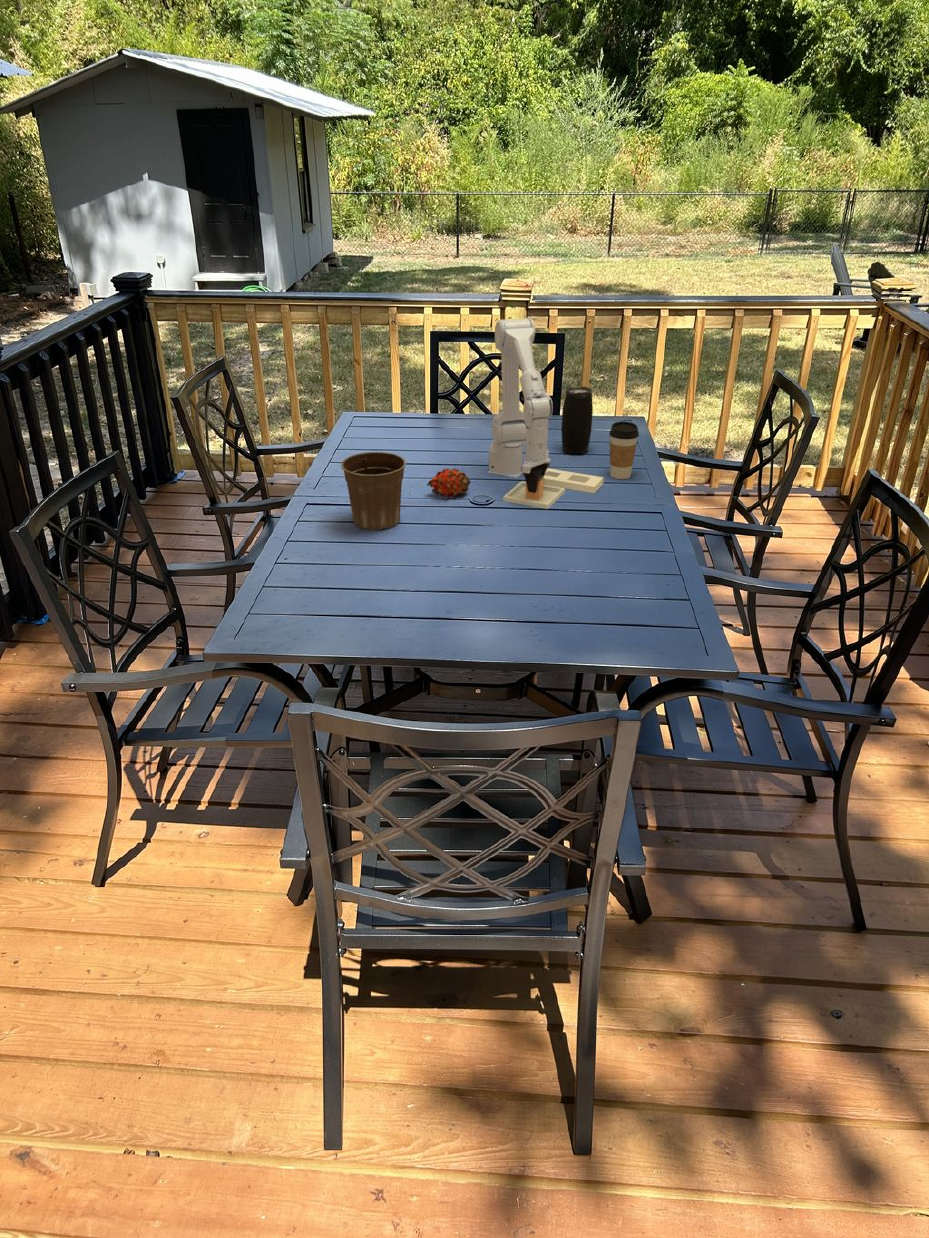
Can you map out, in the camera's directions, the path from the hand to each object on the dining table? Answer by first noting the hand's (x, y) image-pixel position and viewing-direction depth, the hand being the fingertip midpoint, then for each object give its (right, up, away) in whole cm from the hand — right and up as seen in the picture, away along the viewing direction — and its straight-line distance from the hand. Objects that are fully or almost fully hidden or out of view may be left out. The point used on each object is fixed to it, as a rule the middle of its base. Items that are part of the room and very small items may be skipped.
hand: (534, 489), depth 247 cm
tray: (0, -2, +1) cm, 3 cm away
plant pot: (-42, -10, -12) cm, 45 cm away
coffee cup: (+26, +6, +17) cm, 32 cm away
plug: (0, -2, +1) cm, 2 cm away
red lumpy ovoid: (-23, -2, +3) cm, 24 cm away
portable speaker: (+15, +17, +35) cm, 42 cm away
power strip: (+10, +3, +10) cm, 15 cm away
